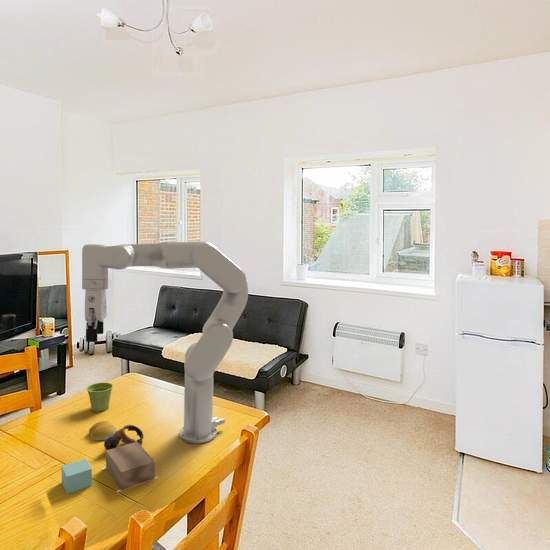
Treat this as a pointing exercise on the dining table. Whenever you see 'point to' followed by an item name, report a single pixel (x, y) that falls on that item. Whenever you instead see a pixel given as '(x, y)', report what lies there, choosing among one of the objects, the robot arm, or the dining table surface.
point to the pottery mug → (123, 437)
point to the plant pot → (99, 396)
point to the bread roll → (102, 430)
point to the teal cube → (76, 476)
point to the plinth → (130, 465)
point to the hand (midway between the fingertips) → (94, 337)
